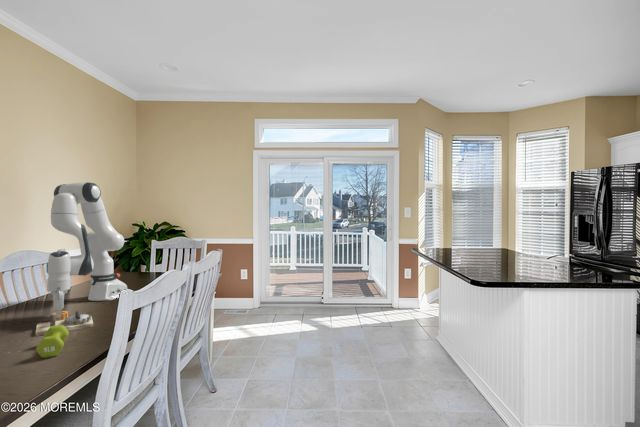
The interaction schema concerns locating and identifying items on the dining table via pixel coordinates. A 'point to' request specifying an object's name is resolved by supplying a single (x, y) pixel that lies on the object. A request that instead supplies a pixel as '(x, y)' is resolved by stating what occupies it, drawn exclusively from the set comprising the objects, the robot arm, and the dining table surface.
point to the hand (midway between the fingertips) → (58, 314)
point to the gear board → (66, 323)
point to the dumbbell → (52, 341)
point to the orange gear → (63, 315)
